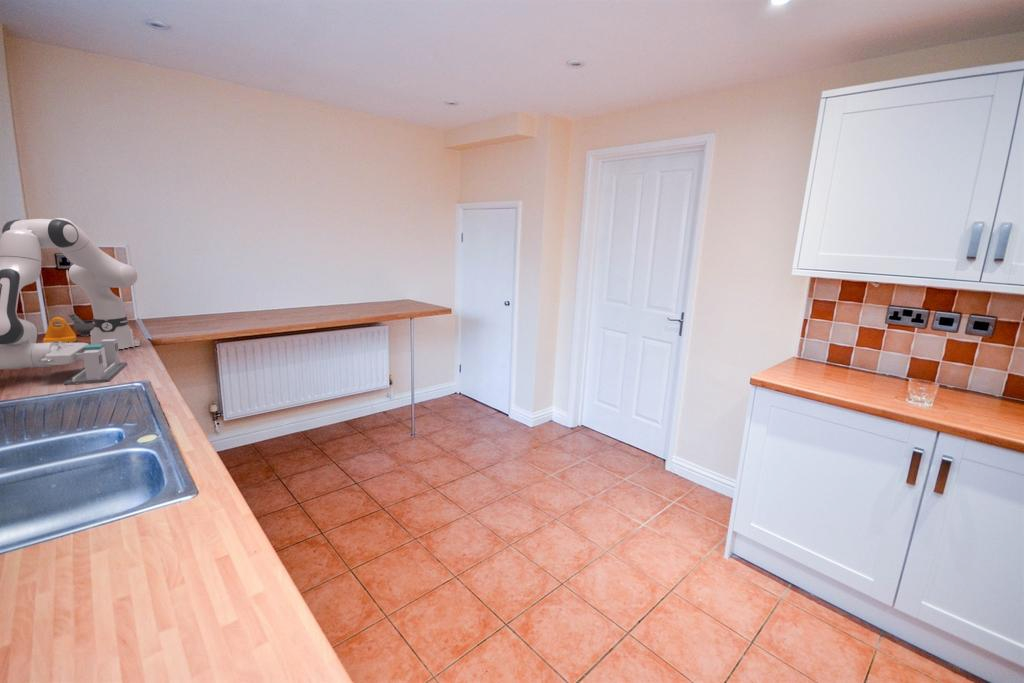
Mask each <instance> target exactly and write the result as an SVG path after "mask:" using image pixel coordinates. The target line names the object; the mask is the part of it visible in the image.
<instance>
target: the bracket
mask: <svg viewBox="0 0 1024 683" xmlns="http://www.w3.org/2000/svg"><path fill="white" fill-rule="evenodd" d="M55 322H59V323H61V325H57V324H55ZM76 341H77V334H76V333H75V332H74V331H73V329H72V327H71V326H70V325H69V323H68V322H67V321H66V319H65V318H63V317H59V316H56V317H53V318H52V319H50V320H49V323H48V326H47V330H46V332H45V335H44V338H43V339H42V343H51V342H62V343H68V342H69V343H76Z"/></svg>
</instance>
